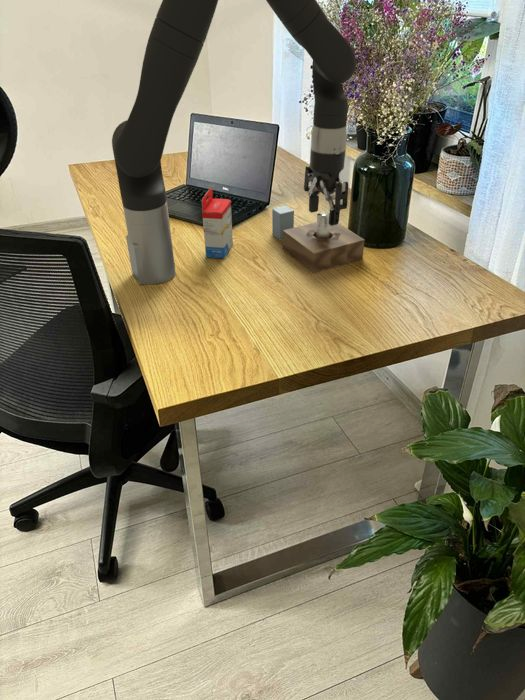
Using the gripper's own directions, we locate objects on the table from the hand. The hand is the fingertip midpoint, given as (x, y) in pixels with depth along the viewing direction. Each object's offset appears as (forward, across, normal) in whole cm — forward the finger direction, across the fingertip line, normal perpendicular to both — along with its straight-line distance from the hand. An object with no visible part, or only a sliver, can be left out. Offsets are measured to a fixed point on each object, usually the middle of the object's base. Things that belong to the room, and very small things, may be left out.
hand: (323, 218), depth 127 cm
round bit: (+9, 0, 0) cm, 9 cm away
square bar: (+9, -14, -3) cm, 17 cm away
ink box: (+10, -14, -21) cm, 27 cm away
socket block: (+9, 0, 0) cm, 9 cm away
